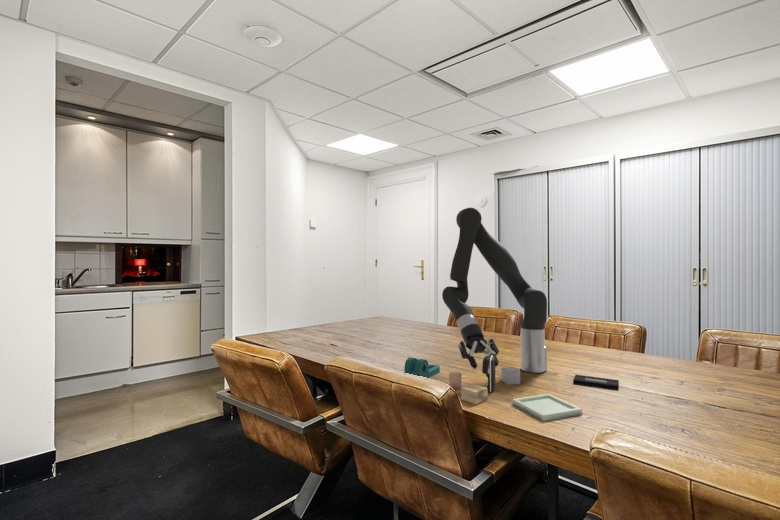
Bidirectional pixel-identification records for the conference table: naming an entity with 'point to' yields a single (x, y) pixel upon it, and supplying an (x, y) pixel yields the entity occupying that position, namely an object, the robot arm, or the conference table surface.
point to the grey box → (510, 375)
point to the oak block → (474, 393)
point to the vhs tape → (596, 382)
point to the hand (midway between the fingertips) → (486, 366)
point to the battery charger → (489, 372)
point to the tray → (547, 407)
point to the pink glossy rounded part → (455, 380)
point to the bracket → (421, 367)
